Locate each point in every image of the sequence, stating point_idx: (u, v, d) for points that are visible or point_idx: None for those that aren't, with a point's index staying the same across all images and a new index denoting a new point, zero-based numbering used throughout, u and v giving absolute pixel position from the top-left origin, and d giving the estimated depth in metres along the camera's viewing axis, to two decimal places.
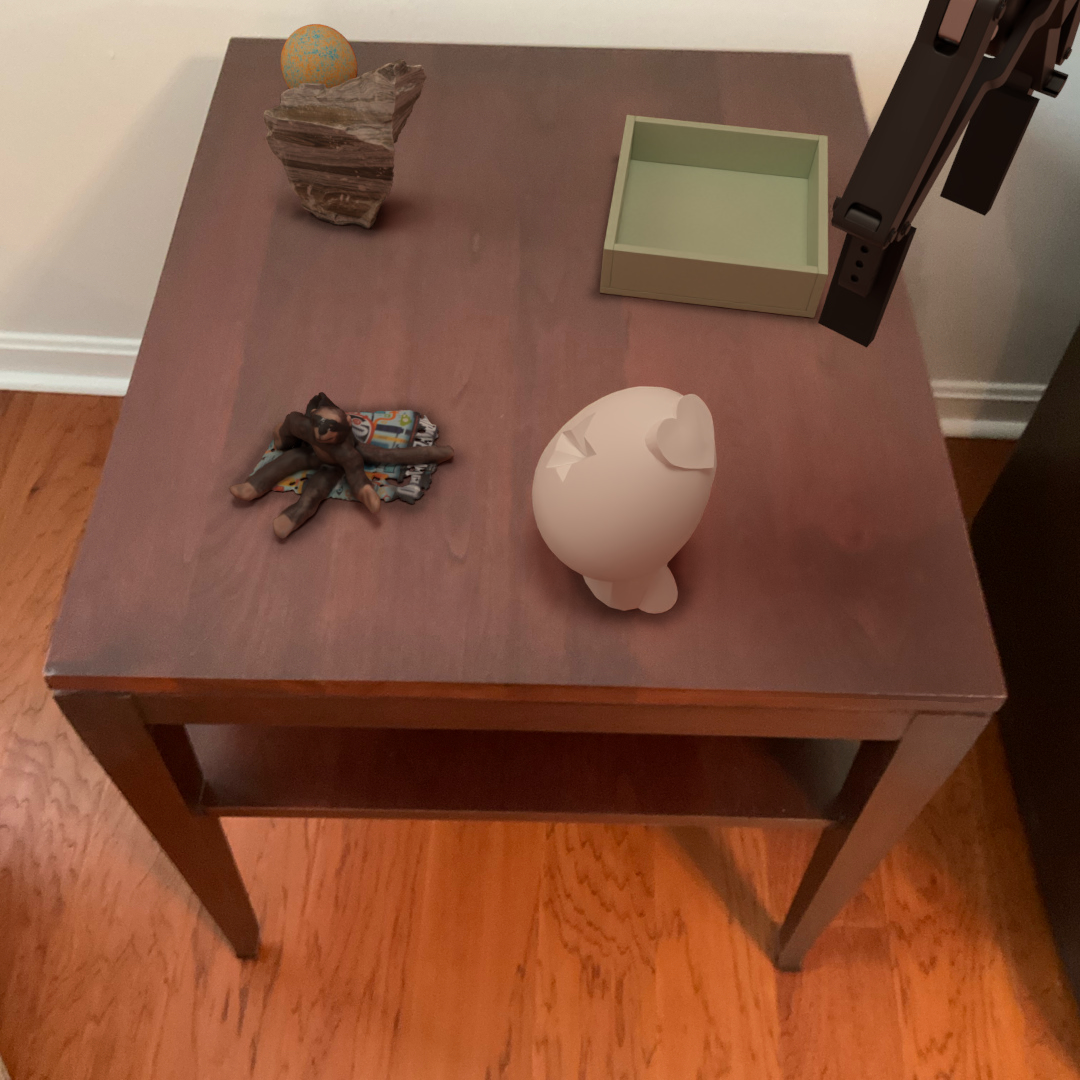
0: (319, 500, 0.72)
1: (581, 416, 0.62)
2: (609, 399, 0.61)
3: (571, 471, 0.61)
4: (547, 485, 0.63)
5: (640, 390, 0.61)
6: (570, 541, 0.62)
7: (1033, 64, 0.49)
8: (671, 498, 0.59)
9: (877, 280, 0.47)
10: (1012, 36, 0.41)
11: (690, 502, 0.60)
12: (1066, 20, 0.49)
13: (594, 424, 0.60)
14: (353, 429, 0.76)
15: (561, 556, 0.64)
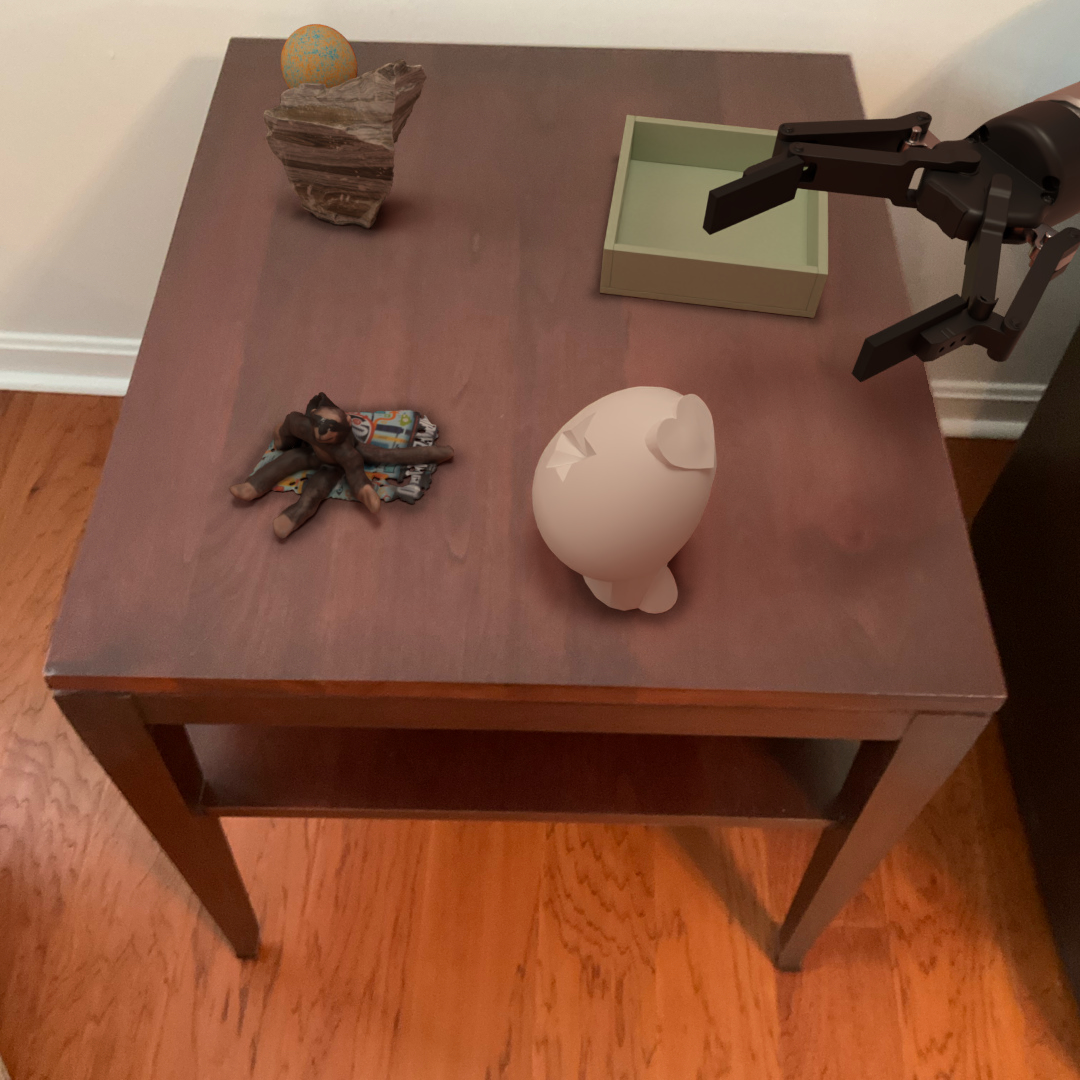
0: (319, 500, 0.72)
1: (581, 416, 0.62)
2: (609, 399, 0.61)
3: (571, 471, 0.61)
4: (547, 485, 0.63)
5: (640, 390, 0.61)
6: (570, 541, 0.62)
7: (971, 280, 0.57)
8: (671, 498, 0.59)
9: None
10: None
11: (690, 502, 0.60)
12: None
13: (594, 424, 0.60)
14: (353, 429, 0.76)
15: (561, 556, 0.64)
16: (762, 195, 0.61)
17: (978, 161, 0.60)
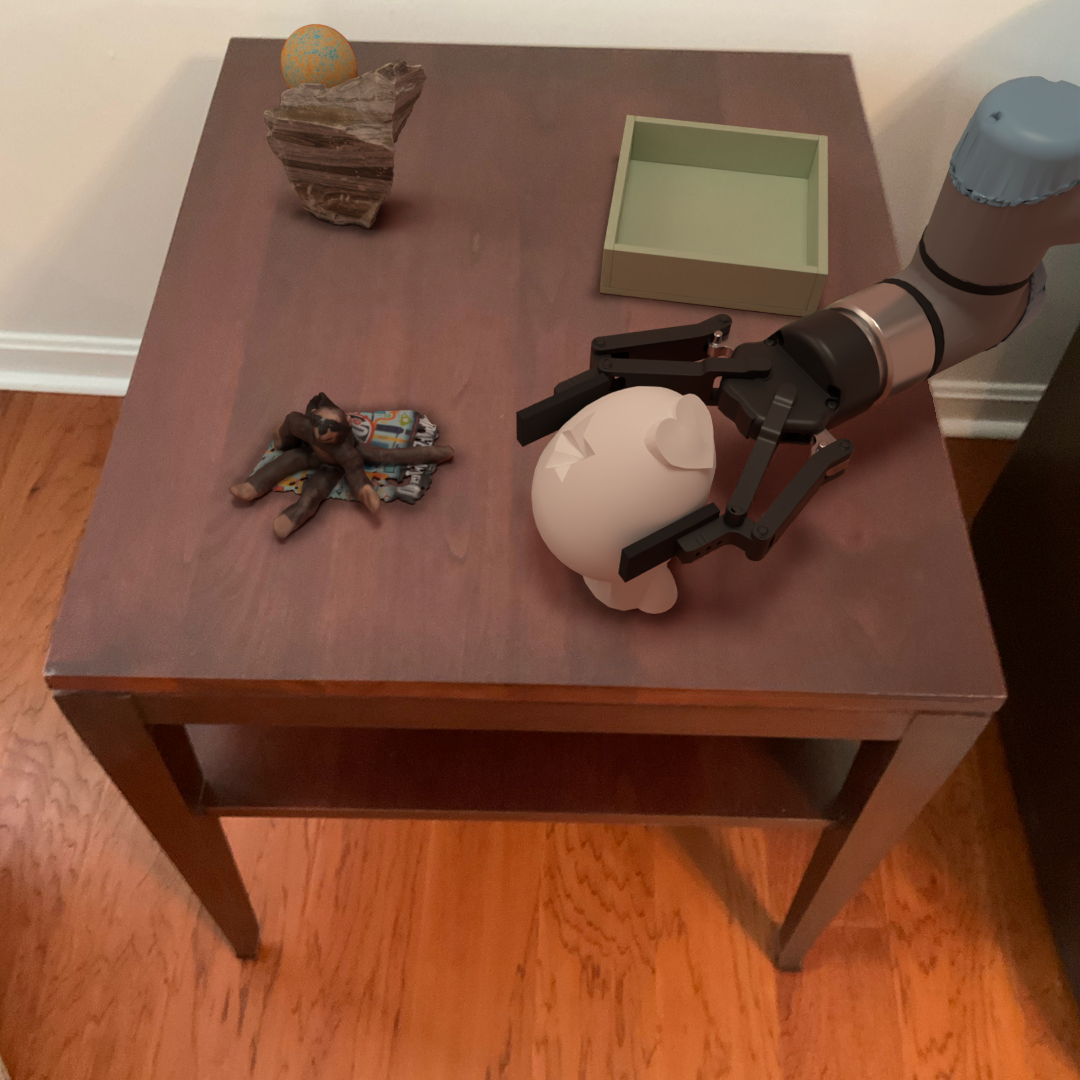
0: (319, 500, 0.72)
1: (581, 416, 0.62)
2: (608, 399, 0.61)
3: (570, 471, 0.61)
4: (546, 485, 0.63)
5: (639, 390, 0.61)
6: (569, 541, 0.62)
7: None
8: (670, 498, 0.59)
9: None
10: None
11: (689, 502, 0.60)
12: None
13: (593, 424, 0.60)
14: (353, 429, 0.76)
15: (560, 556, 0.64)
16: (571, 410, 0.66)
17: (769, 369, 0.66)
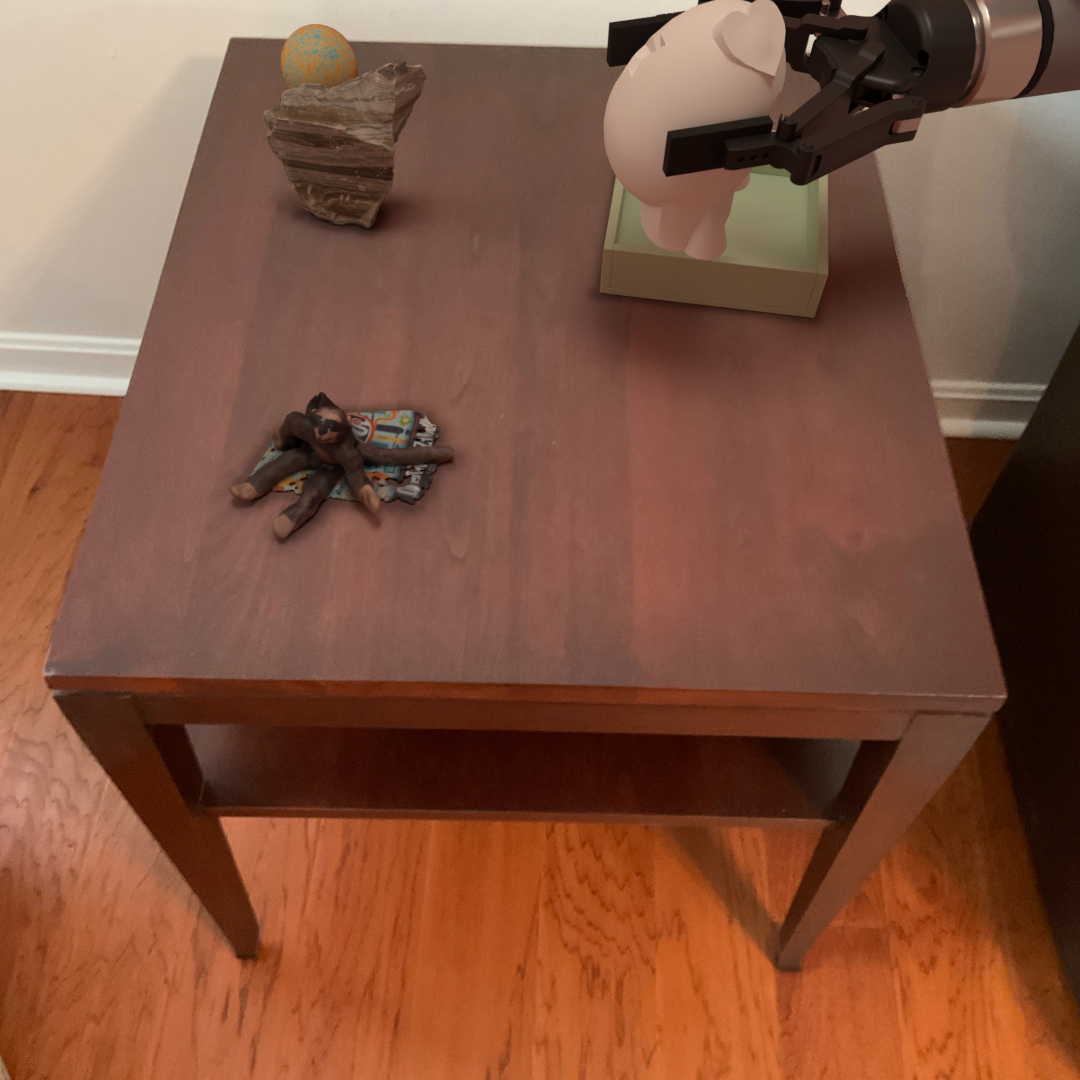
0: (319, 500, 0.72)
1: None
2: None
3: (640, 65, 0.64)
4: (618, 87, 0.66)
5: None
6: (626, 140, 0.65)
7: None
8: (726, 95, 0.61)
9: None
10: None
11: (744, 107, 0.62)
12: None
13: (672, 22, 0.63)
14: (353, 429, 0.76)
15: (617, 164, 0.67)
16: None
17: (863, 29, 0.66)
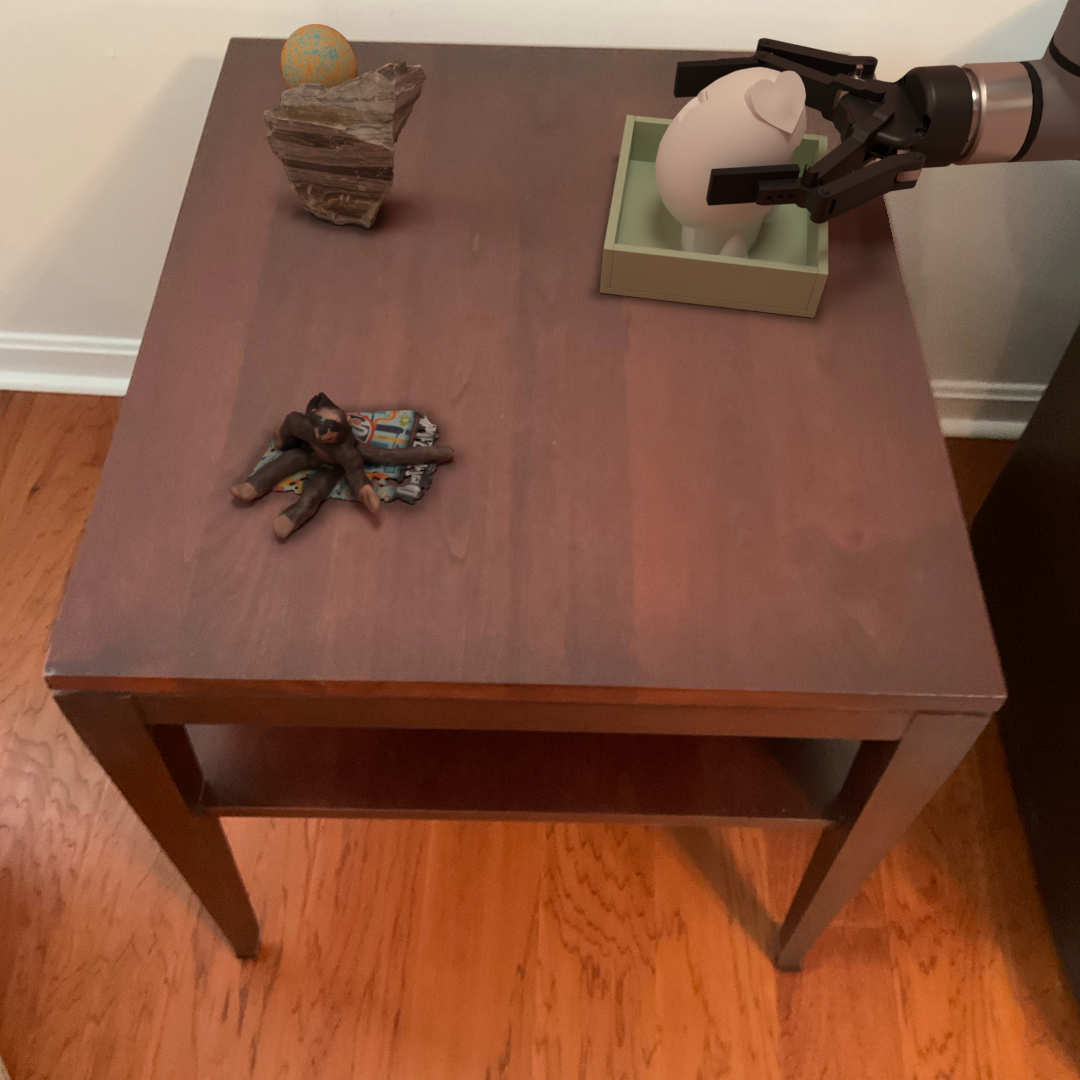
0: (319, 500, 0.72)
1: None
2: None
3: (687, 113, 0.79)
4: (669, 129, 0.81)
5: (760, 67, 0.78)
6: (669, 172, 0.80)
7: None
8: (749, 145, 0.76)
9: None
10: None
11: (764, 156, 0.76)
12: None
13: (716, 82, 0.78)
14: (353, 429, 0.76)
15: (662, 191, 0.82)
16: None
17: (881, 93, 0.80)
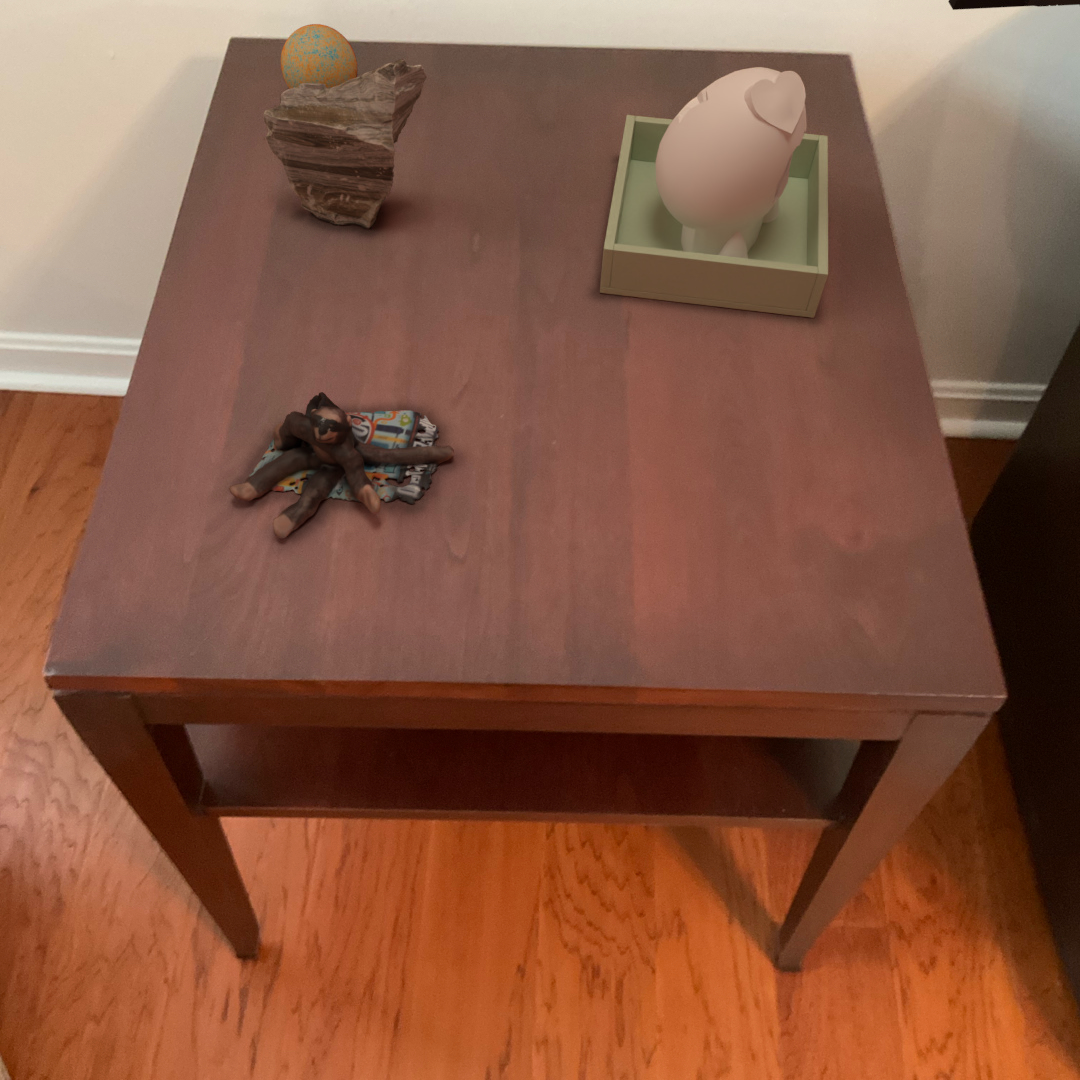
0: (319, 500, 0.72)
1: None
2: None
3: (687, 113, 0.79)
4: (669, 129, 0.81)
5: (760, 67, 0.78)
6: (669, 172, 0.80)
7: None
8: (749, 145, 0.76)
9: None
10: None
11: (764, 156, 0.76)
12: None
13: (716, 82, 0.78)
14: (353, 429, 0.76)
15: (662, 191, 0.82)
16: None
17: None
